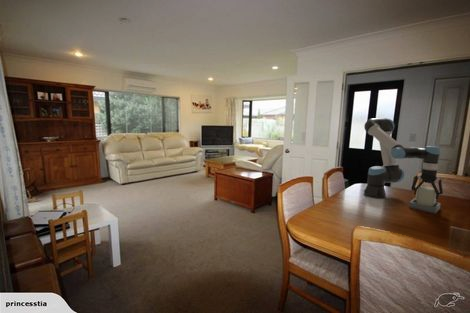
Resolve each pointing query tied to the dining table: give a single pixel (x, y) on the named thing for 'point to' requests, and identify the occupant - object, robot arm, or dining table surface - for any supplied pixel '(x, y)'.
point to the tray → (424, 207)
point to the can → (425, 196)
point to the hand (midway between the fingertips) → (425, 201)
